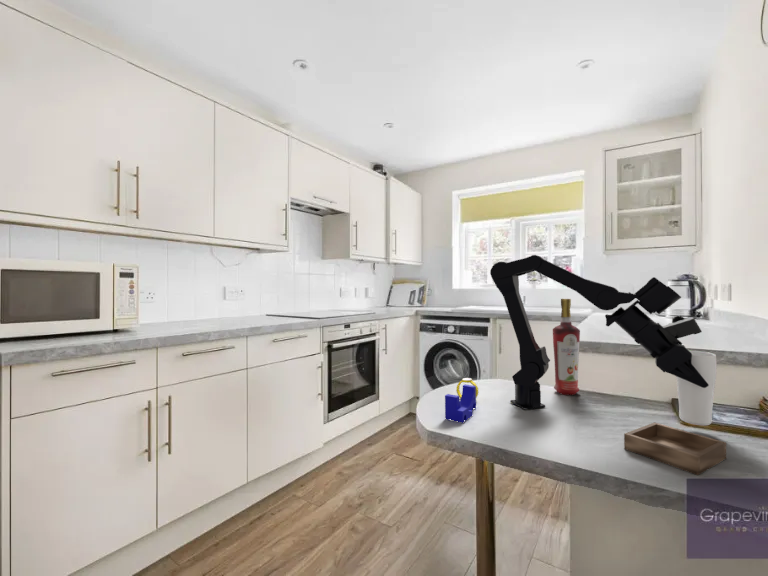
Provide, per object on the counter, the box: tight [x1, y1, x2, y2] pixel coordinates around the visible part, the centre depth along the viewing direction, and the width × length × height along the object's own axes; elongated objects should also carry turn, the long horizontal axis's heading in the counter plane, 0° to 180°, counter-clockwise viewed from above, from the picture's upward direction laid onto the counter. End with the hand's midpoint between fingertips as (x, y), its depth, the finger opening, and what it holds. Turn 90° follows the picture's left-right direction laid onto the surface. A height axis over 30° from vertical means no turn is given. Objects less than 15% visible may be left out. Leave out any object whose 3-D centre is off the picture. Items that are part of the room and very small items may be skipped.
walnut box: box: [623, 422, 727, 476], centre depth 69 cm, size 12×12×3 cm
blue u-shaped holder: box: [444, 383, 477, 424], centre depth 92 cm, size 12×4×6 cm, turn 144°
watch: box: [456, 377, 479, 399], centre depth 103 cm, size 6×3×6 cm, turn 57°
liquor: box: [552, 298, 581, 396], centre depth 109 cm, size 7×7×28 cm
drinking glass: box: [675, 349, 718, 426], centre depth 79 cm, size 7×7×15 cm
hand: (703, 383), depth 79 cm, fingers closed on drinking glass, 6 cm apart
